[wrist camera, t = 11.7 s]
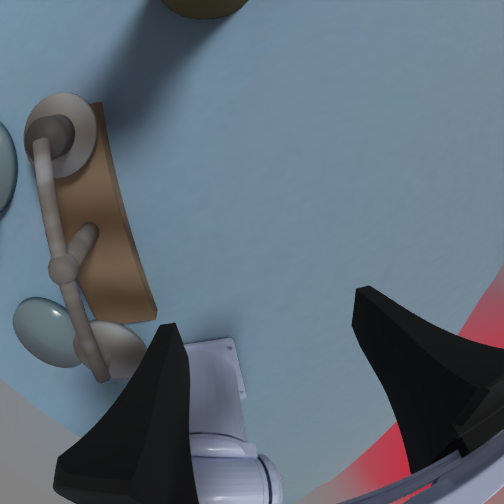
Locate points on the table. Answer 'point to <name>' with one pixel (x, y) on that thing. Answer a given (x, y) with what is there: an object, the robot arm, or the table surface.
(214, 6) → the cork
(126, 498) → the robot arm
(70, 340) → the smooth grey pebble
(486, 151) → the table surface
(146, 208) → the table surface
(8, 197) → the grey dome
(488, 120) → the table surface
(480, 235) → the table surface
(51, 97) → the balance
